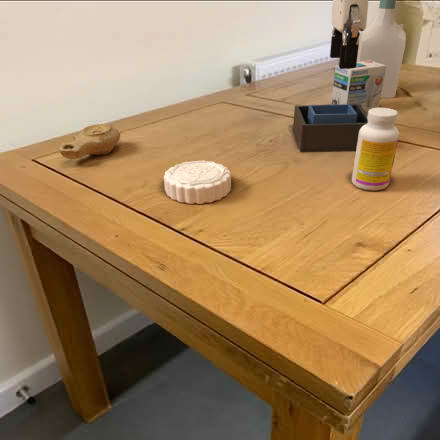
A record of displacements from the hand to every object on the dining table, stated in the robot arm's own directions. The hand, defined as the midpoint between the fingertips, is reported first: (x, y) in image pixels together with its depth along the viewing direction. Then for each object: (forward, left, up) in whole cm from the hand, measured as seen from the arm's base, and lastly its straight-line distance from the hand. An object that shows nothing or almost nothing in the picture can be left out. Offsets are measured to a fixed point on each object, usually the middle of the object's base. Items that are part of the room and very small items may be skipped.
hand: (342, 62), depth 93 cm
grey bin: (+1, 0, -16) cm, 16 cm away
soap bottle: (-17, -34, -16) cm, 41 cm away
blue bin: (+1, 0, -15) cm, 15 cm away
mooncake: (+29, +24, -16) cm, 41 cm away
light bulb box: (-9, -21, -16) cm, 28 cm away
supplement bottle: (-3, +23, -16) cm, 28 cm away
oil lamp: (+52, +6, -16) cm, 54 cm away
